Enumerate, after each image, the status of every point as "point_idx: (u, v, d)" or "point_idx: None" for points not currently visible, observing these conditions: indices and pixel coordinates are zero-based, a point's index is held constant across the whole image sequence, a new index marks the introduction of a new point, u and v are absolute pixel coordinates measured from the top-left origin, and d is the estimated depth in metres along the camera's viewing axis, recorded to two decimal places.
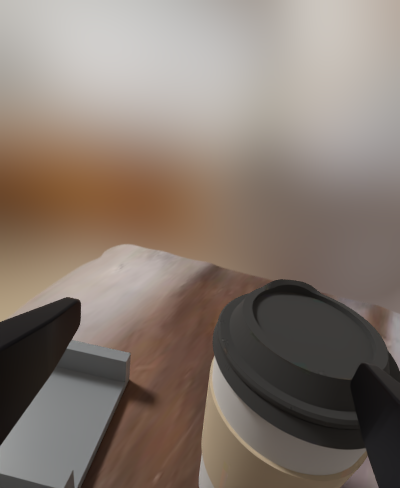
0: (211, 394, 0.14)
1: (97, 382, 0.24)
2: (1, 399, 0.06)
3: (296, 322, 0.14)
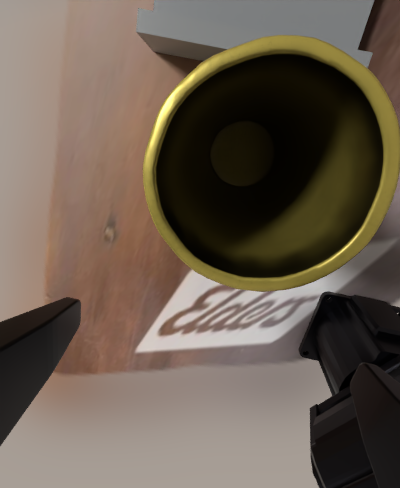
0: None
1: None
2: (1, 399, 0.06)
3: None
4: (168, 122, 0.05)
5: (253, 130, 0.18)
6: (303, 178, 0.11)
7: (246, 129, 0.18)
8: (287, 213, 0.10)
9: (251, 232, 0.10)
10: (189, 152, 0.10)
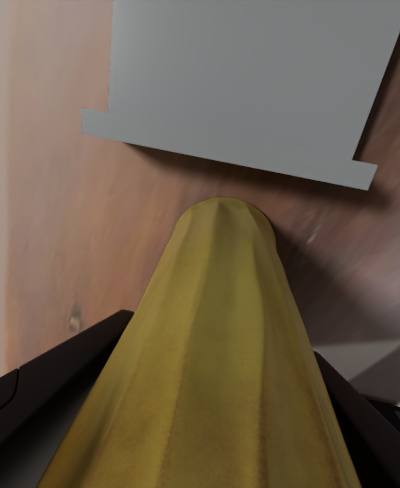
0: None
1: None
2: None
3: None
4: None
5: None
6: None
7: None
8: None
9: None
10: None
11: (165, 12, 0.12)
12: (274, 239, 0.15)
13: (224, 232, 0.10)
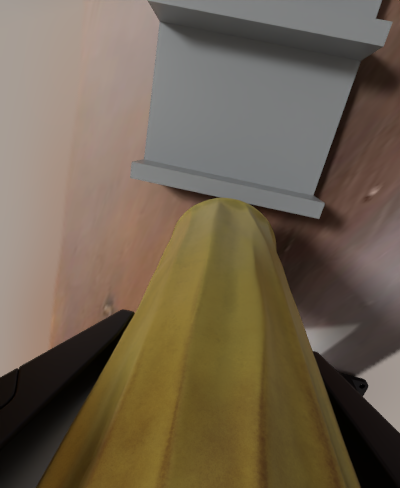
0: None
1: None
2: None
3: None
4: None
5: None
6: None
7: None
8: None
9: None
10: None
11: (187, 96, 0.17)
12: (274, 239, 0.15)
13: (224, 233, 0.10)
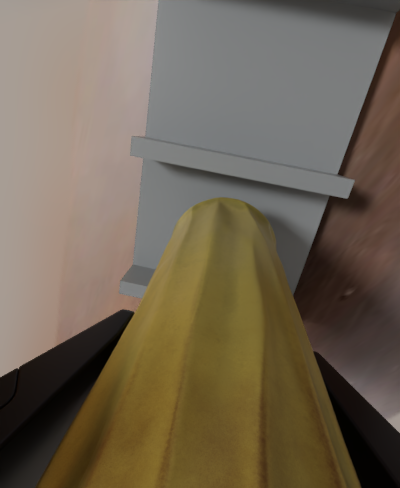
0: None
1: (346, 19, 0.14)
2: None
3: None
4: None
5: None
6: None
7: None
8: None
9: None
10: None
11: (171, 214, 0.18)
12: (274, 239, 0.15)
13: (224, 232, 0.10)
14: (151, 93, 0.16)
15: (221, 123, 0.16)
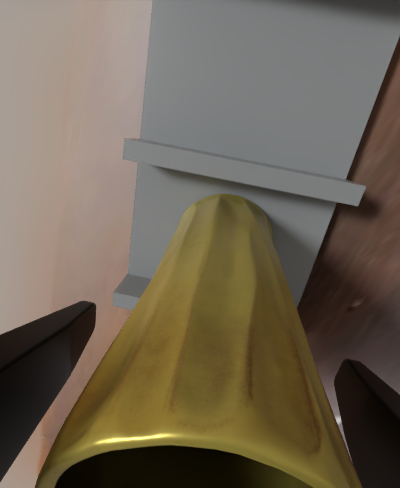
0: None
1: (356, 11, 0.13)
2: (23, 404, 0.06)
3: None
4: (55, 482, 0.04)
5: None
6: None
7: None
8: None
9: None
10: None
11: (168, 221, 0.17)
12: (271, 232, 0.16)
13: (224, 221, 0.12)
14: (146, 92, 0.15)
15: (221, 124, 0.15)
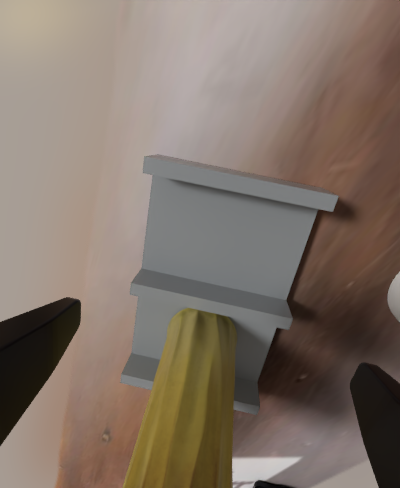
0: None
1: (285, 205, 0.19)
2: (1, 399, 0.06)
3: None
4: None
5: None
6: None
7: None
8: None
9: None
10: None
11: (161, 320, 0.24)
12: (235, 333, 0.23)
13: (196, 351, 0.18)
14: (146, 241, 0.21)
15: (198, 263, 0.21)
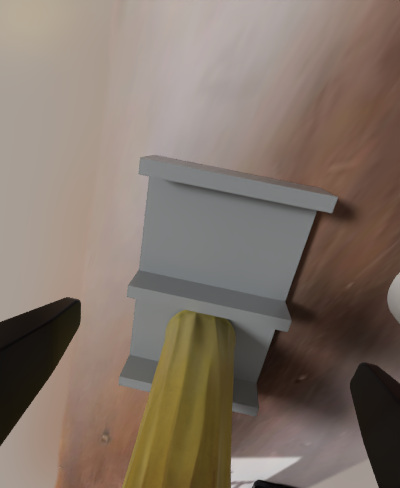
0: None
1: (283, 206, 0.19)
2: (1, 399, 0.06)
3: None
4: None
5: None
6: None
7: None
8: None
9: None
10: None
11: (159, 322, 0.24)
12: (233, 334, 0.22)
13: (195, 354, 0.18)
14: (143, 243, 0.21)
15: (196, 264, 0.21)
